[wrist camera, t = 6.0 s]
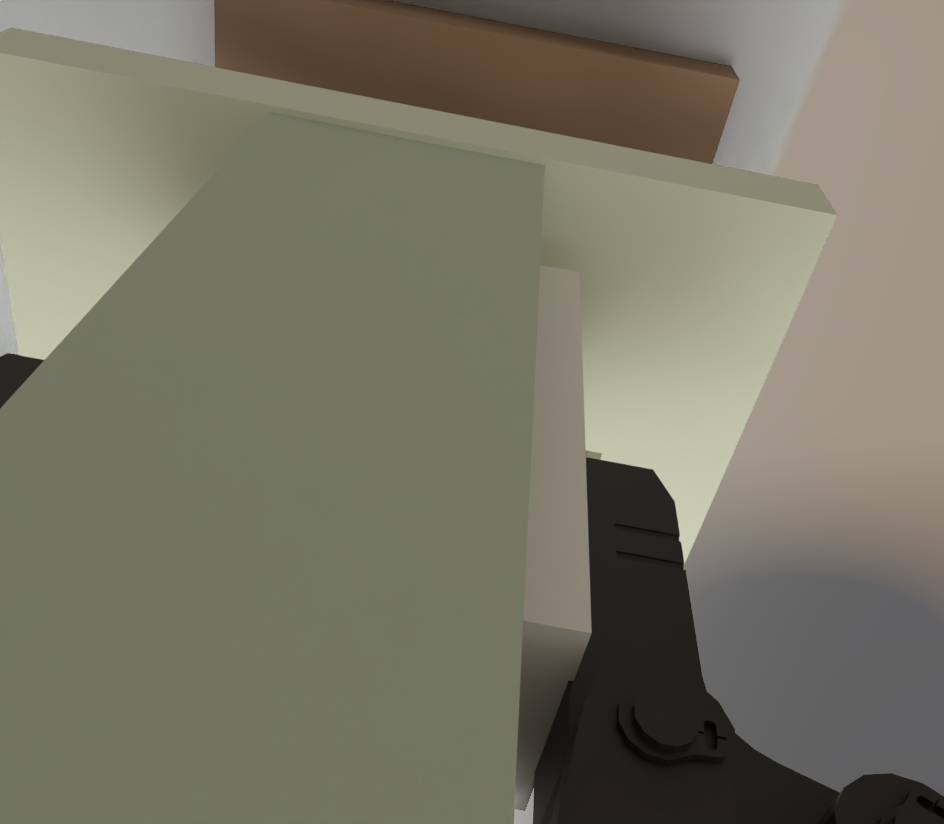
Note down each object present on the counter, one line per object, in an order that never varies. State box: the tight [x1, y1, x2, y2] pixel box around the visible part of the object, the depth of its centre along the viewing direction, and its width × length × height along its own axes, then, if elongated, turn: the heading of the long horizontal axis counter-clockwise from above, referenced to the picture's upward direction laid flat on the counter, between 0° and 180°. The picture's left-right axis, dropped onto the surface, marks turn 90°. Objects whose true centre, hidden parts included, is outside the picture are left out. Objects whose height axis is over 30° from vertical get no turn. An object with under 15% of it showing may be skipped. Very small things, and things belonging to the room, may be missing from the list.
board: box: [214, 0, 739, 457], centre depth 30 cm, size 17×15×2 cm
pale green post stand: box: [0, 28, 838, 824], centre depth 12 cm, size 14×13×13 cm
